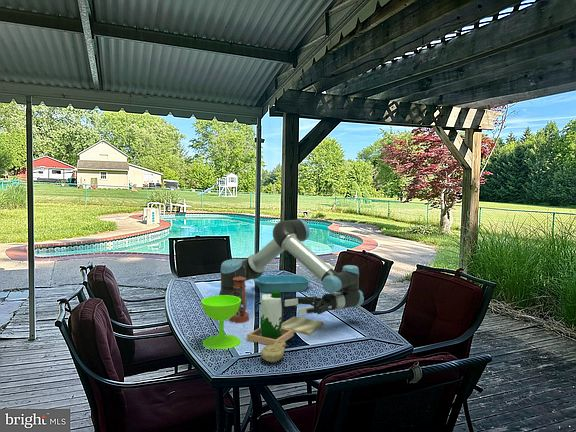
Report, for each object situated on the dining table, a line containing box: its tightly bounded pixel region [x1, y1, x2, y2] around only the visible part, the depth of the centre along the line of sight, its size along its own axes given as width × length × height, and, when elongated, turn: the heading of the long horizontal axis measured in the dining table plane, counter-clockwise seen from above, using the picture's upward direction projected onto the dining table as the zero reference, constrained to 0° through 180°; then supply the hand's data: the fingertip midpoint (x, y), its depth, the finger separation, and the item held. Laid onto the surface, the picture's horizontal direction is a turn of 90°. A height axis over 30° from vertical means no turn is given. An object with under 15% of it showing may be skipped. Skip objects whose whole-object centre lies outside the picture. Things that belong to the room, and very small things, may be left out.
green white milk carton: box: [259, 291, 283, 340], centre depth 167 cm, size 9×9×20 cm
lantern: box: [229, 260, 250, 324], centre depth 189 cm, size 10×10×30 cm
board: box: [281, 316, 325, 336], centre depth 182 cm, size 16×16×1 cm
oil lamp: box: [260, 341, 287, 363], centre depth 148 cm, size 11×14×5 cm
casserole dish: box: [252, 274, 312, 294], centre depth 249 cm, size 37×22×7 cm, turn 103°
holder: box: [246, 327, 295, 346], centre depth 167 cm, size 14×14×2 cm
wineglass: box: [200, 294, 242, 349], centre depth 160 cm, size 16×16×18 cm
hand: (291, 307), depth 171 cm, fingers open, 13 cm apart
